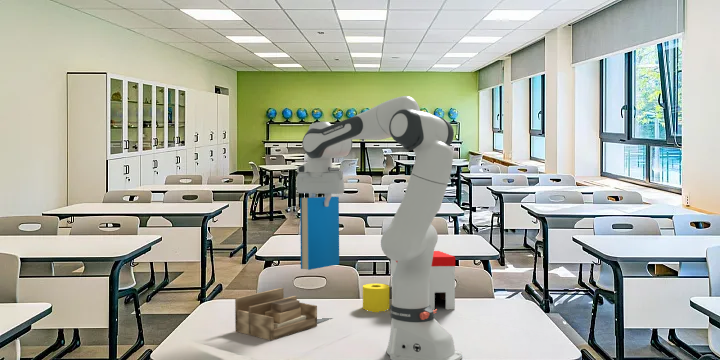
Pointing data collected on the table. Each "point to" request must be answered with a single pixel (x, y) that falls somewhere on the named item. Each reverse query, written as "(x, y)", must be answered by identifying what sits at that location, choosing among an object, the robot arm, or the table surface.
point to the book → (319, 232)
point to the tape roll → (376, 297)
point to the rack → (259, 325)
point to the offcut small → (284, 305)
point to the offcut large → (290, 321)
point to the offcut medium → (284, 315)
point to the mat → (322, 320)
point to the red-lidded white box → (439, 278)
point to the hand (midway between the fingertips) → (320, 206)
